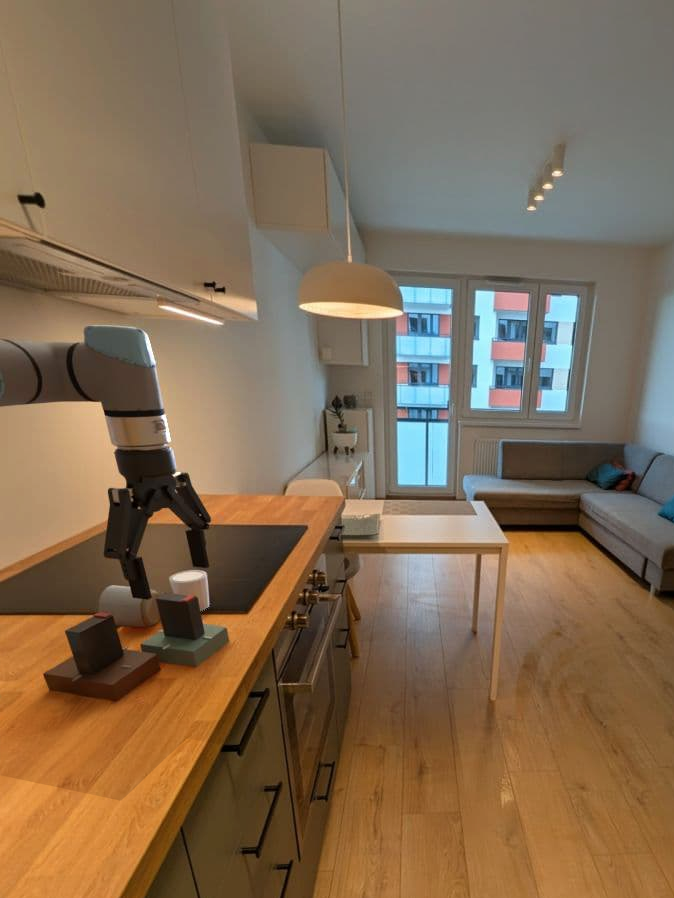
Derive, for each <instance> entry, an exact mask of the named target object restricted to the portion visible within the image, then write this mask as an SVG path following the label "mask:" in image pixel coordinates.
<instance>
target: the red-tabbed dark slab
mask: <svg viewBox="0 0 674 898" xmlns="http://www.w3.org/2000/svg"><path fill="white" fill-rule="evenodd" d="M64 633H65V636H66V639H67V642H68V645H69V648H70V651H71V654H72V657H74V660H75V663H76V666H77V669H78V672H82V673H88V674H93V673H95V672H97V671H98V670H100V669H101V668H103V667H105V666H106V665H108V664H109V663H111V662H113V661H114V660H116V659H117V658H119V657H121V656H122V655H124V652H123V645H122V641H121V639H120V638H121V637H120V634H119V631H118V629H117V626H116V624H115V620H114V617H113V615H111V614H107V613H100V612H99V611H98V612H97V613H95V614H93V615H92V616H91V617H88V618H87V619H85V620H83V621H81V622H79V623H77V624H75V625H73V626H71V627H69V628H67V629H65V630H64Z"/></svg>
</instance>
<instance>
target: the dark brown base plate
mask: <svg viewBox="0 0 674 898" xmlns="http://www.w3.org/2000/svg"><path fill="white" fill-rule="evenodd" d="M128 648H129V646H128V645H127V646H125V647H122V649H123V652H124V655H122V656H121V657H119V658H117V659H116V660H114V661H113V662H111V663H109V664H108V665H106V666H105V667H103V668H101V669H100V670H98V671H97V672H95V673H93V674H88V673H82V672H78V669H77V666H76V663H75V660H74V657H73V656H71V657H69V658H67V659H65V660H63V661H62V662H60V663H59V664H57V665H55V666H53V667H52V668H50V669H48V670H46V671H44V672H43V673H42V675H43V677H44V681H45V683H46V686H47V689H48V691H52V692H58V693H65V694H69V695H75V696H82V697H85V698H94V699H99V700H105V701H109V702H118V701H120V700H121V699H123V698H124V697H126V696H127V695H128V694H130V693H131V692H133V691H134V690H135V689H137V688H138V687H139V686H141V685H142V684H143V683H145V682H146V681H148V680H149V679H151V678H152V677H153V676H154V675H156V674H157V673H158V672H160V671H162V668H161V663H160V662H159V660H158V656H157V654H154V653H147V652H142V650H141V651H139V650H133V649H128Z"/></svg>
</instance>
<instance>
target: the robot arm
mask: <svg viewBox="0 0 674 898" xmlns="http://www.w3.org/2000/svg"><path fill="white" fill-rule="evenodd" d="M83 337H84V338H83V341H80V342H79V341H78V342H69V341H67V342H66V341H42V340H41V341H39V340H31V339H29V340H26V339H25V340H24V339H22V340H21V339H5V338H0V408H2V407H13V406H24V405H25V406H26V405H36V404H37V405H38V404H39V405H40V404H49V403H68V402H69V403H72V402H73V403H78V402H81V403H83V402H85V403H88V402H89V403H90V402H91V403H100V404H101V407H102V411H103V414H104V418H105V423H106V427H107V430H108V431H107V432H108V435H109V439H110V442H111V445H112V446H113V447H114V446H115V447H117V448H116V449H115V450H114V452H113V454H114V458H115V463H116V466H117V470H118V474H120V475H121V476H122V477H123V478H124V480H125V487H122V488H121V487H109V488H108V489H107V497H108V502H109V506H108V507H109V508H108V517H107V523H106V533H105V540H104V548H103V557H104V558H106V559H109V560H110V559H111V560H118V561H119V564H120V567H121V571H122V575H123V578H124V579H125V581H128V585H129V587H130V589H131V593H132V596H133V598H138V599H147V600H149V599H151V598H152V595H151V592H150V589H151V587H150V584H149V580H148V576H147V572H146V569H145V564H144V561H143V557H142V556H137V555H138V553H139V550H140V547H141V544H142V541H143V537H144V534H145V531H146V528H147V526H148V522H149V519H150V518H152V517H153V516H154V513H157V512H160V511H162V509H169V510H170V511H171V512H172V513H173V514H174V515H175V516H176V517H177V518H178V519H179V520H180V521H181V522H182V523H183V524H184V525H185V526H187V528H189V529H185V536H186V540H187V545H188V549H189V550H188V551H189V555H190V559H191V564H192V567H193V568H203V569H208V568H210V563H209V558H208V553H207V540H206V535H205V531H207V530H209V529H210V523H211V522H212V517H211V515H210V513H209V512H208V510H207V508H206V506H205V505H204V503H203V502H202V500H201V498H200V496H199V495H198V494H197V492H196V490H195V488H194V487H193V486H194V485H192V481H191V477H190V474H189V473H188V472H183V471H177V469H178V468H177V463H176V459H175V454H174V449H173V448H172V447H171V446H169V444H170V443H171V437H170V431H169V427H168V422H167V418H166V411H165V407H164V404H163V403H164V402H163V399H162V398H163V397H162V393H161V386H160V382H159V376H158V371H157V365H158V364H157V362H156V360H155V357H154V353H153V350H152V346H151V342H150V339H149V336H148V334H147V333H146V332H145V331H144V330H143V329H142V328H139V327H134V326H125V325H124V326H123V325H108V324H107V325H103V324H102V325H101V324H99V325H97V324H96V325H95V324H94V325H86V326H85V327H84V328H83Z"/></svg>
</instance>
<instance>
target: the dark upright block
mask: <svg viewBox="0 0 674 898" xmlns="http://www.w3.org/2000/svg"><path fill="white" fill-rule="evenodd" d="M156 602H157V606H158V611H159V615H160V619H159V620H160V623H161V627H162V630H163V631H164V636H170V637H177V638H184V639H191V640H196V639H198V638H199V637H201V636H202V635H203V634H205V631H204V626H203V624H204V623H203V621H204V620H203V617H202V612H200V607H199V602H198V597H196V595H189V596H188V595H180V594H174V593H173V592H172V593H171V592H165V593H163V594H161V595H160V596H159V597H158V598H156Z"/></svg>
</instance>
